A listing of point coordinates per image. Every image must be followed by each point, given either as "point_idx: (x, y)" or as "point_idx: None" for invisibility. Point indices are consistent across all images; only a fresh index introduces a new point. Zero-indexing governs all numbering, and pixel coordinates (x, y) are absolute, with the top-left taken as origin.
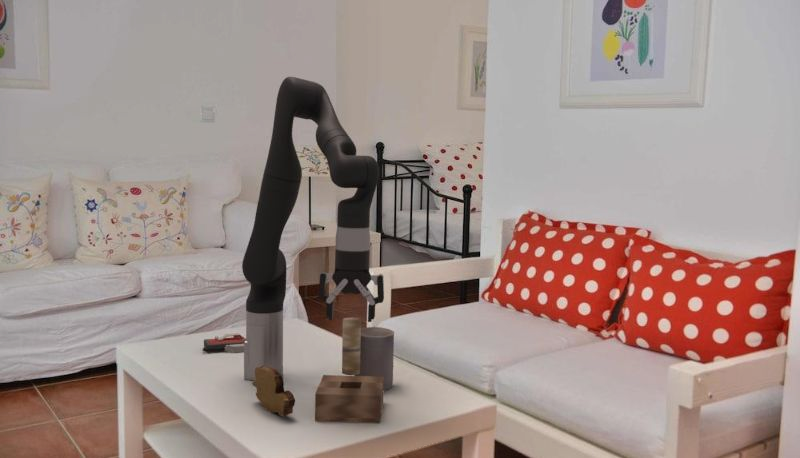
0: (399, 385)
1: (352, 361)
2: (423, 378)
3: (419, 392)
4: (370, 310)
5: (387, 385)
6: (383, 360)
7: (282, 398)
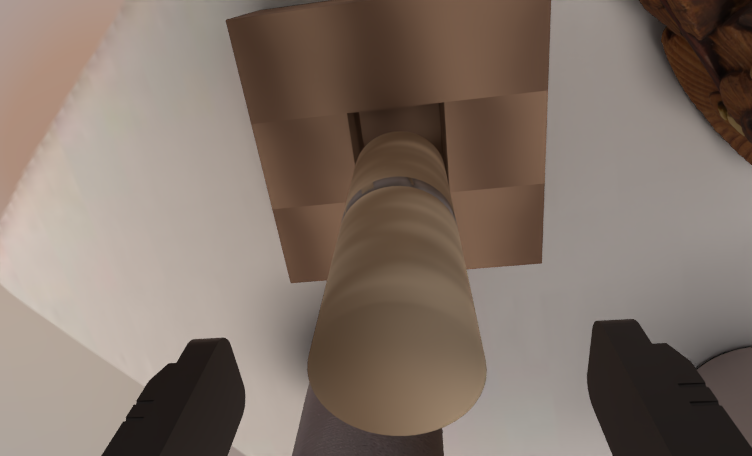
0: (299, 378)
1: (381, 159)
2: (248, 436)
3: (223, 332)
4: (147, 429)
5: None
6: (320, 404)
7: None
